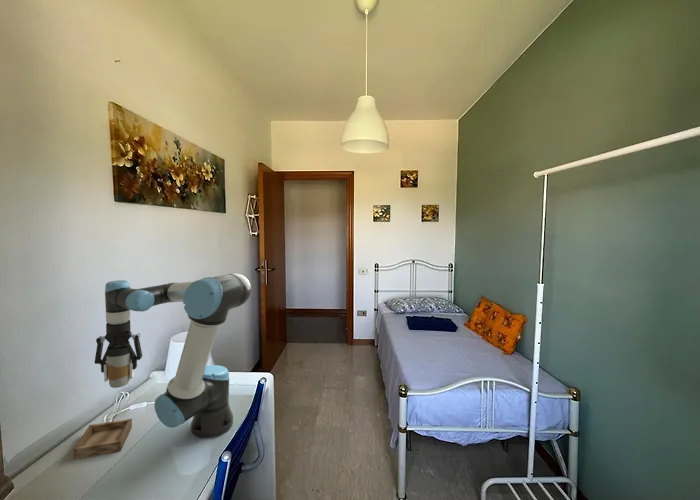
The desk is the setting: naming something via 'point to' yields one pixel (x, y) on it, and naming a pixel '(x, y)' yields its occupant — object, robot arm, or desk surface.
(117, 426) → the tray
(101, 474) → the desk surface
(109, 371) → the coffee cup
